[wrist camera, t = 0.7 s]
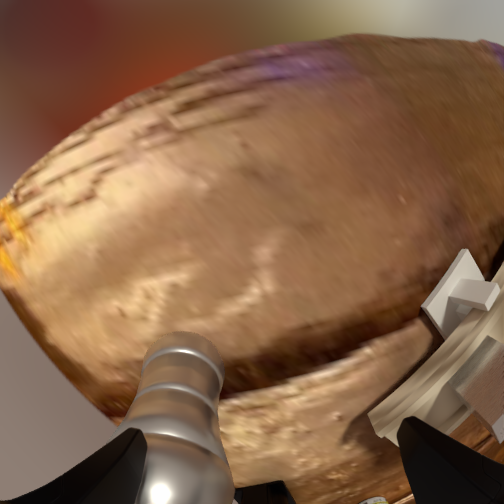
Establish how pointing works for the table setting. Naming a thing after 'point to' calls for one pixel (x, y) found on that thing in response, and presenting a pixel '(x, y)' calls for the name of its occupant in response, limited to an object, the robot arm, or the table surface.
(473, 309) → the balance beam
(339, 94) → the table surface
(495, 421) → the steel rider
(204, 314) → the table surface
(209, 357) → the silver metal bottle
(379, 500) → the supplement bottle
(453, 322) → the beam stand
